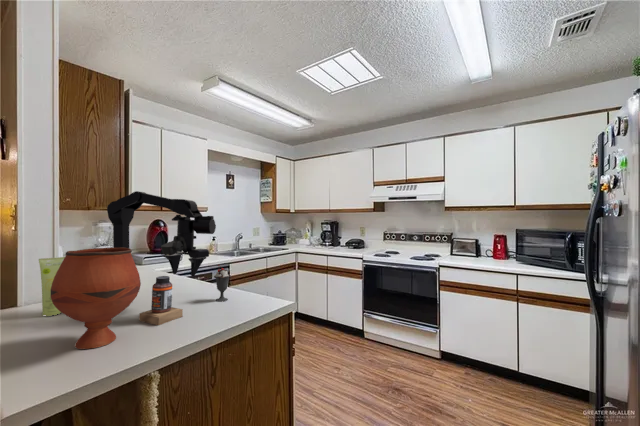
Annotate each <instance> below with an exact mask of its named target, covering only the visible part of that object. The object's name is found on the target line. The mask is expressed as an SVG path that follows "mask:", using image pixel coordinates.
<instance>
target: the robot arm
mask: <svg viewBox="0 0 640 426" xmlns="http://www.w3.org/2000/svg"><path fill="white" fill-rule="evenodd" d="M143 204H147V205H151V206H155V207H160V208H164V209H168V210H170V211H172V212H173V213H175V214H176V215H175V216H174V217H173V218H171V221H174V222H176V221H177V227H176V228H177V229H176V232H177V233H176V235H174V236H173V240H171V241H168V242H166V243H164V244H162V245H161V246H160V247H161V249H160V255H163V258H165V259H166V260H168V262H169V265H170V268H171V271H172V274H173V275H177V274H178V271H179V266H180V263H181V258H182V255H188V257H189V258H187V259H188V260H189V262H190V274H191V277H192V278H193V277H195V276H196V275H197V272H198V271H199V268H200V267H201V265H202V263H203V262H204V260H206V259H207V258H208V257H209V256H210V251H209V249H208V248H197V247H196V246H194V241H195V239H197V235H195V233H196V234H198V235H199V234H201V235H214V234H215V231H216V229H217V225H216V220H215V219H214V215H202V212H200V210H199V208H198V204H197V202H196V201H195V200H190V199H183V198H182V199H181V198H180V199H179V198H168V197H163V196H159V195H154V194H150V193H147V192H143V191H137V190H135V191H133V192H131V193H130V194H128V195H126V196H123V197H121V198H117V199H116V200H113V201H111V202H110V203H109V204H107V206H106V211H107V216H108V219H109V222H111V224H112V228H113V229H112V231H113V233H112V234H113V235H112V236H113V237H112V238H113V239H112V240H113V246H112V247H124V248H129V249H130V224H131V222H132V221H133V219H134V215H135V212H136V211H137V210H139V209H140V208H141V207H142V206H143ZM209 258H210V257H209Z"/></svg>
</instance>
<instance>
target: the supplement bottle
mask: <svg viewBox="0 0 640 426" xmlns="http://www.w3.org/2000/svg"><path fill="white" fill-rule="evenodd" d="M151 288H152V289H151V290H152V291H151V305H150V306H151V308H150V310H151V311H152V312H154V313H164V312H167V311H169V310H171V307H172V305H173V304H172V303H173V302H172V301H173V283H172V282H170V276H169V275H160V276H157V277H156V279H155V283H154V284H153V285H152V287H151Z"/></svg>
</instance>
